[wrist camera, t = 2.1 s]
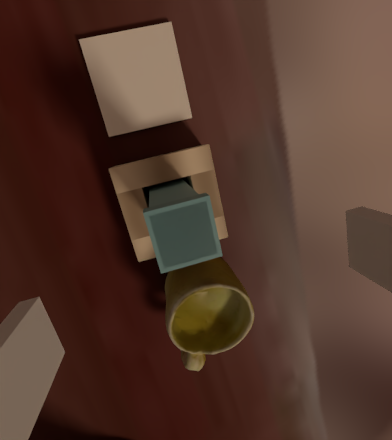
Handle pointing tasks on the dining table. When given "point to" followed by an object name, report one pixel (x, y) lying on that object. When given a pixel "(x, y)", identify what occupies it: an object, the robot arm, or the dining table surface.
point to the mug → (206, 310)
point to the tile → (137, 78)
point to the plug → (181, 226)
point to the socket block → (157, 173)
